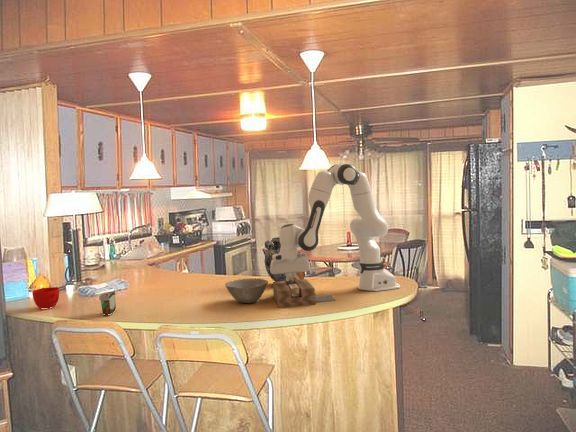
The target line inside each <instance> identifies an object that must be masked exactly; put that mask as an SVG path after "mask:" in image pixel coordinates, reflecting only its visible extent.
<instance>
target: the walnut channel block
mask: <svg viewBox="0 0 576 432" xmlns="http://www.w3.org/2000/svg"><path fill="white" fill-rule="evenodd" d="M293 281H294V284H297V286H298V287H299V297H293V298H292V296H291V290H290V289H289V287H288V281H278V282H275V281H272V292H273V298H274V301H275V302H276V305H277V307H278V308H280V309H281V308H289V307H290V308H291V307H301V306H302V307H303V306H312V305H316V302H315V296H316V293H315V292H316V289H315V287H314V286H313V285H312V284H311V283H310V281H309V280H308V279H306V278H304V279H302V280H293Z"/></svg>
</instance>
